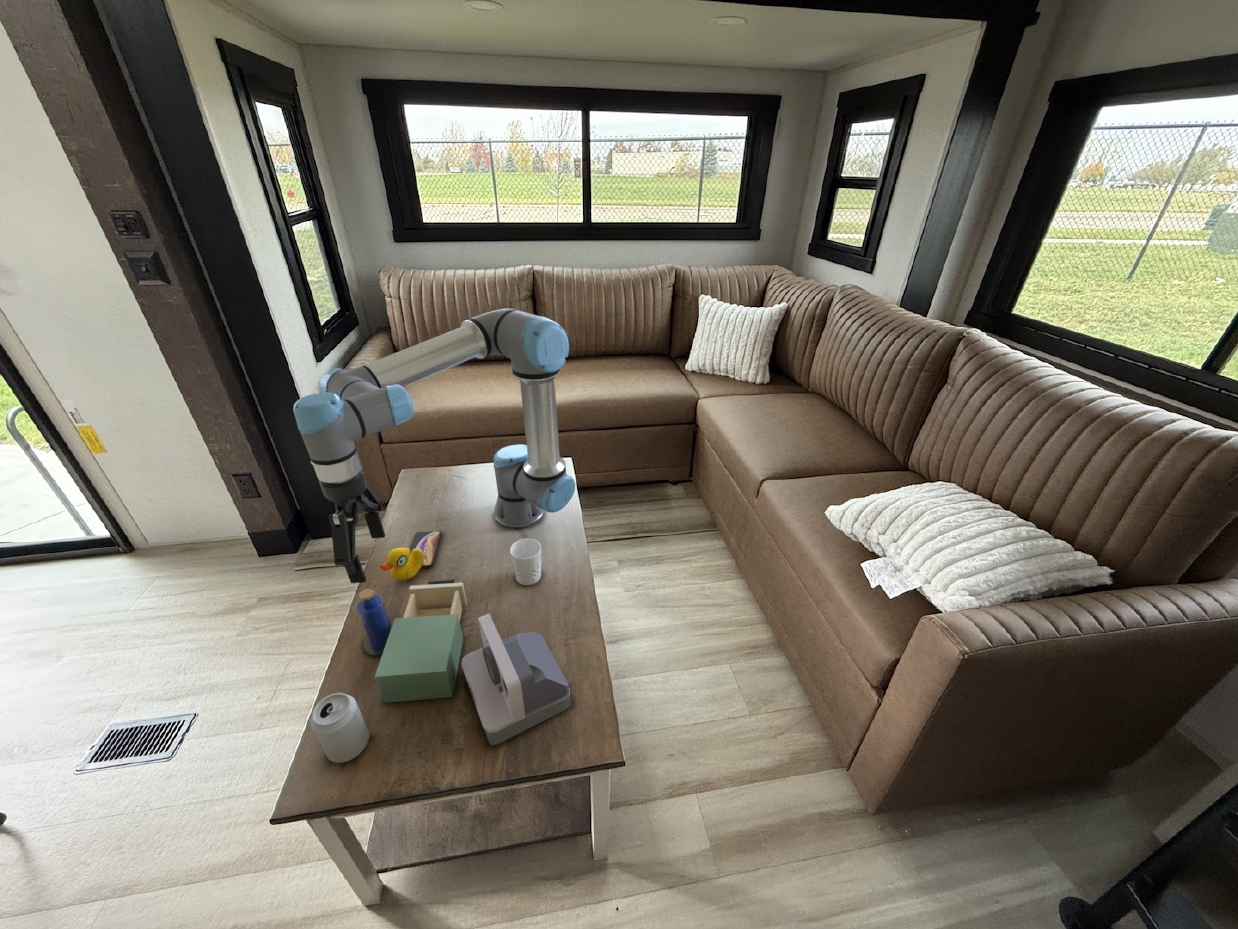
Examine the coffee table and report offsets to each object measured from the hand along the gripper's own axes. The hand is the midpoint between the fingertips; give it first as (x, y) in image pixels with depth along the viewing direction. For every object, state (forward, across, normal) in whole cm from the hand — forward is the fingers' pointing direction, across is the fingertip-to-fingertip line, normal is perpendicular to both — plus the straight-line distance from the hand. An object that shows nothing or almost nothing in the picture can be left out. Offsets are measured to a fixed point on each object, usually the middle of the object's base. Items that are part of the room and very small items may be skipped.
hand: (369, 558), depth 105 cm
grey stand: (+24, +18, +30) cm, 42 cm away
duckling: (+23, -18, -1) cm, 30 cm away
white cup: (+24, -15, +31) cm, 42 cm away
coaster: (+23, +3, -2) cm, 23 cm away
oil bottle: (+23, +3, -2) cm, 23 cm away
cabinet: (+23, +11, +10) cm, 27 cm away
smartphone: (+24, -28, +1) cm, 37 cm away
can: (+23, +27, -1) cm, 35 cm away
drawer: (+22, -2, +10) cm, 25 cm away
